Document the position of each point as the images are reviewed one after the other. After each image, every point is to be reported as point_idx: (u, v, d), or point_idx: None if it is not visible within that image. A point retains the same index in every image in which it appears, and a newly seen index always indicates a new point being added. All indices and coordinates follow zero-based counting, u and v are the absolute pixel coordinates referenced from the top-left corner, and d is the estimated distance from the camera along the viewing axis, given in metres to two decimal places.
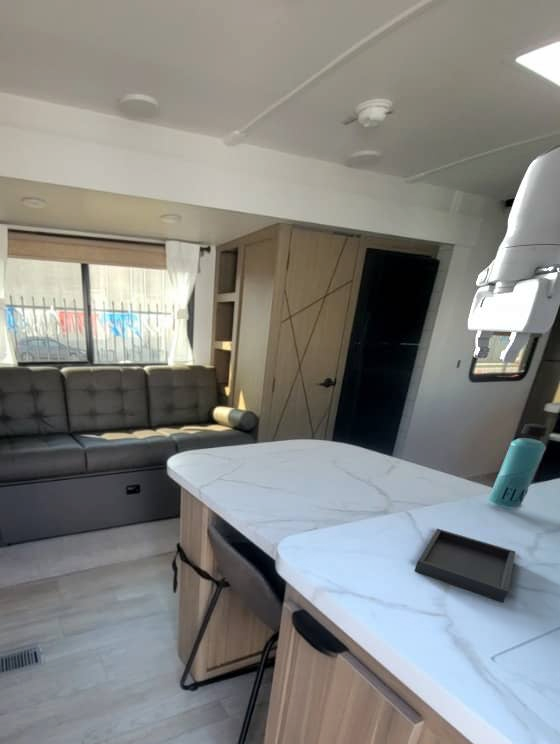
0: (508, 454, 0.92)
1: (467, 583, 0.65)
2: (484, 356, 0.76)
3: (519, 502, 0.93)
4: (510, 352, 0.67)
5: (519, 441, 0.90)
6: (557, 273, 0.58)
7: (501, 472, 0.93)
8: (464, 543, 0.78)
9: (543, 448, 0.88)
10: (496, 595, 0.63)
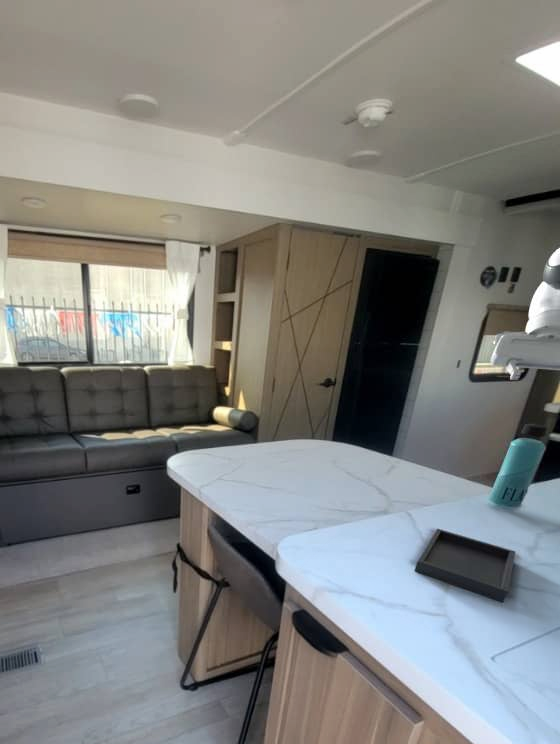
0: (508, 454, 0.92)
1: (467, 583, 0.65)
2: None
3: (519, 502, 0.93)
4: (511, 373, 0.97)
5: (519, 441, 0.90)
6: None
7: (501, 472, 0.93)
8: (464, 543, 0.78)
9: (543, 448, 0.88)
10: (496, 595, 0.63)
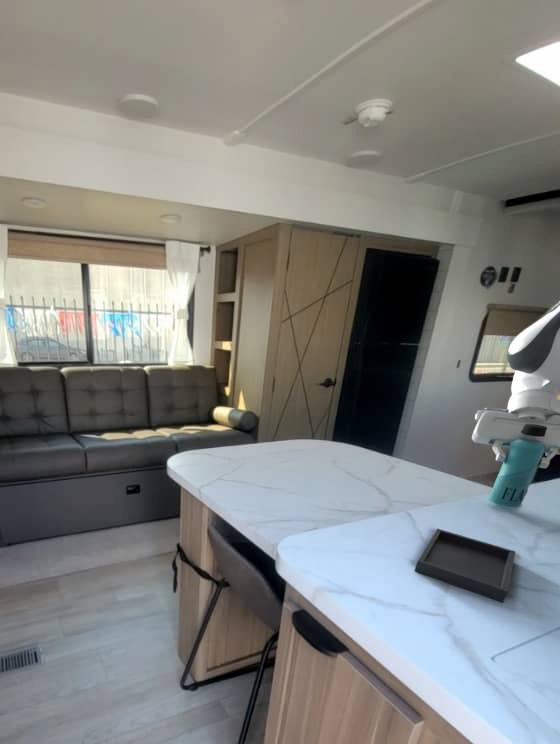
0: (508, 454, 0.92)
1: (467, 583, 0.65)
2: (539, 463, 0.90)
3: (519, 502, 0.93)
4: (497, 454, 0.94)
5: (519, 441, 0.90)
6: None
7: (501, 472, 0.93)
8: (464, 543, 0.78)
9: (543, 448, 0.88)
10: (496, 595, 0.63)
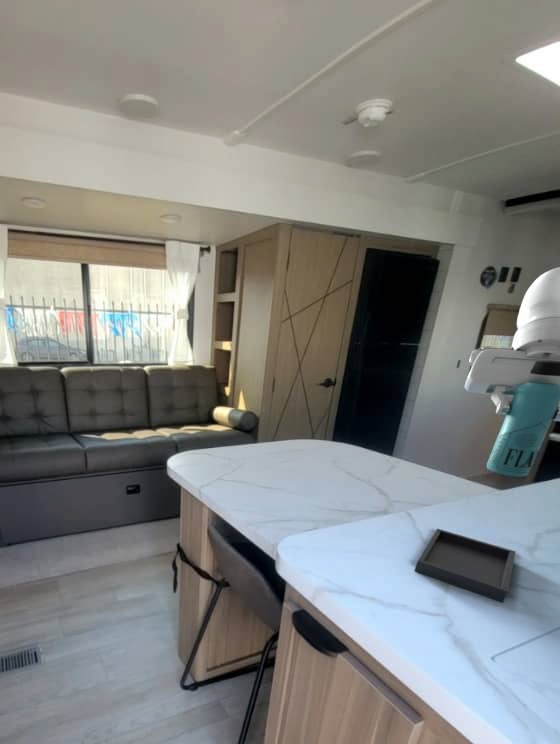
0: (512, 404, 0.68)
1: (467, 583, 0.65)
2: (555, 415, 0.66)
3: (527, 469, 0.69)
4: (497, 405, 0.70)
5: (527, 384, 0.66)
6: None
7: (503, 429, 0.70)
8: (464, 543, 0.78)
9: None
10: (496, 595, 0.63)
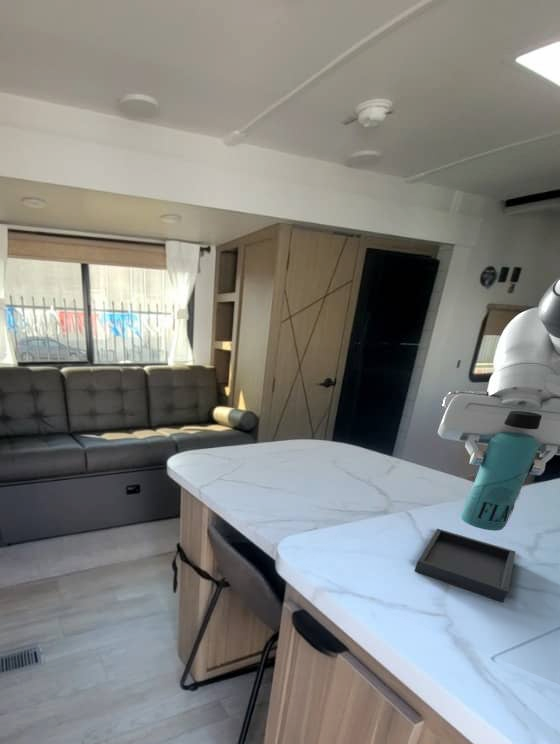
0: (486, 455, 0.64)
1: (467, 583, 0.65)
2: (531, 468, 0.62)
3: (502, 523, 0.65)
4: (471, 455, 0.66)
5: (501, 436, 0.62)
6: None
7: (477, 480, 0.66)
8: (464, 543, 0.78)
9: (536, 446, 0.60)
10: (496, 595, 0.63)
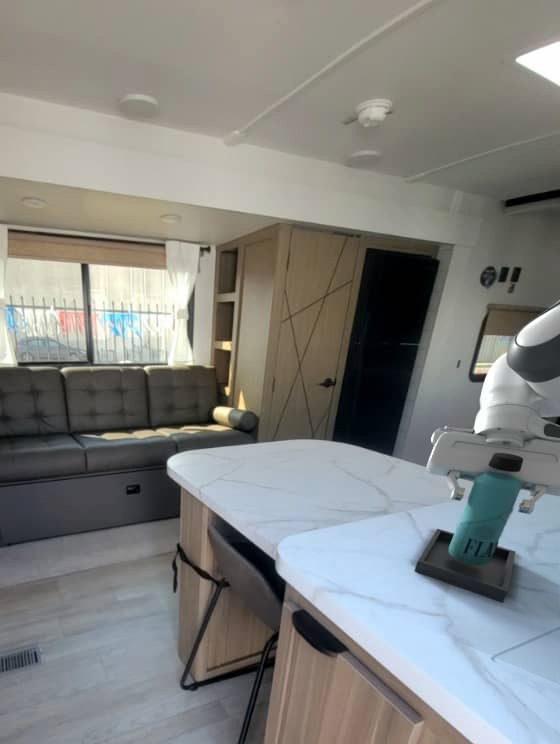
0: (471, 493, 0.67)
1: (467, 583, 0.65)
2: (521, 508, 0.65)
3: (487, 558, 0.68)
4: (452, 490, 0.70)
5: (485, 477, 0.65)
6: None
7: (463, 517, 0.69)
8: None
9: (518, 488, 0.63)
10: (496, 595, 0.63)
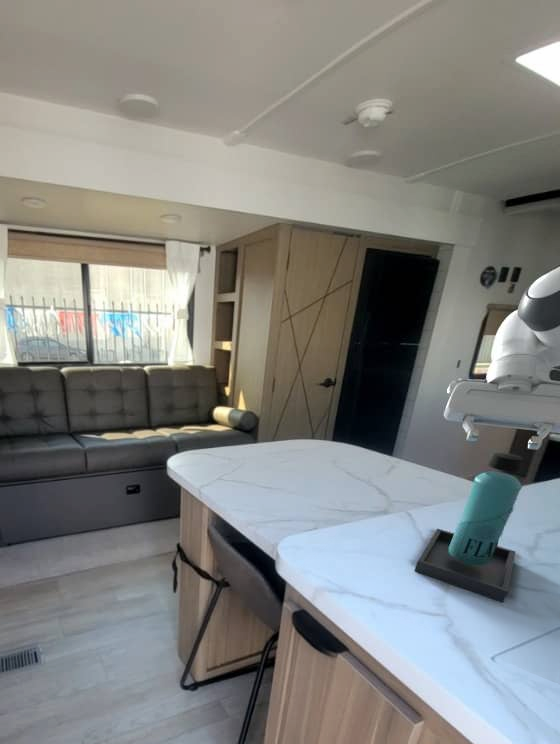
0: (471, 493, 0.67)
1: (467, 583, 0.65)
2: (530, 444, 0.73)
3: (487, 558, 0.68)
4: (468, 432, 0.78)
5: (485, 477, 0.65)
6: None
7: (463, 517, 0.69)
8: None
9: (518, 488, 0.63)
10: (496, 595, 0.63)
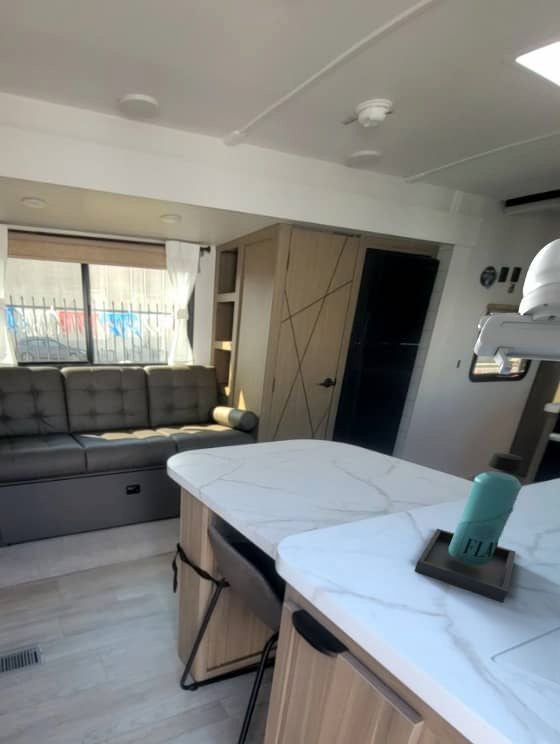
0: (471, 493, 0.67)
1: (467, 583, 0.65)
2: None
3: (487, 558, 0.68)
4: (500, 365, 0.75)
5: (485, 477, 0.65)
6: None
7: (463, 517, 0.69)
8: None
9: (518, 488, 0.63)
10: (496, 595, 0.63)
